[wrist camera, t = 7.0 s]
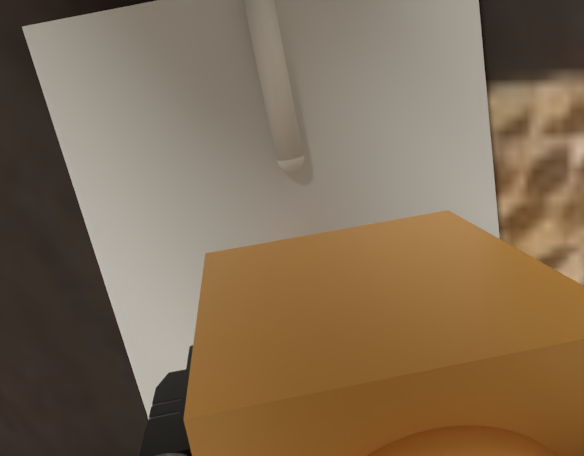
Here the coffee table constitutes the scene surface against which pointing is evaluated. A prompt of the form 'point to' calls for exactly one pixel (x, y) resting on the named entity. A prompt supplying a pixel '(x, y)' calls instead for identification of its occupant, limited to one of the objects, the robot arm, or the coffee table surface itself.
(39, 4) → the coffee table surface
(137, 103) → the plate
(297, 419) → the domed orange cube
